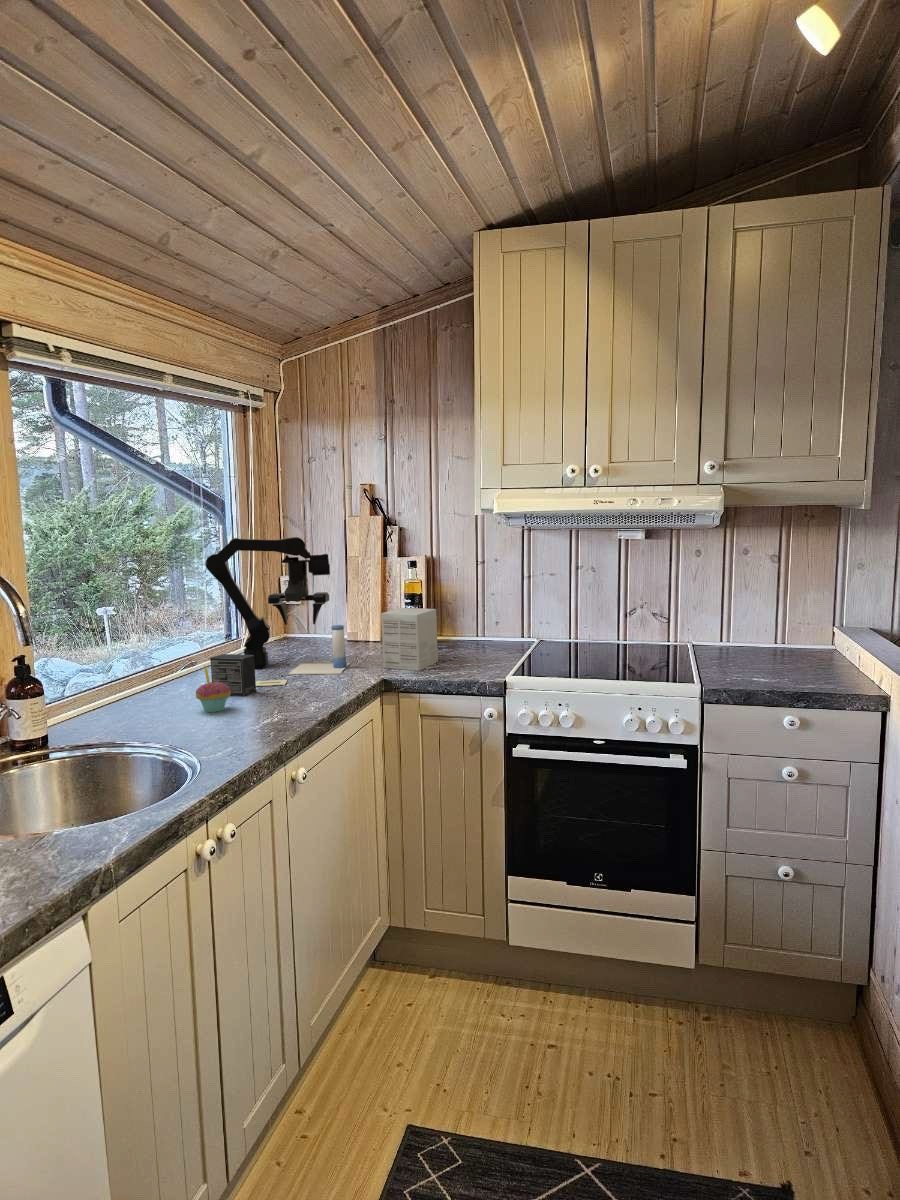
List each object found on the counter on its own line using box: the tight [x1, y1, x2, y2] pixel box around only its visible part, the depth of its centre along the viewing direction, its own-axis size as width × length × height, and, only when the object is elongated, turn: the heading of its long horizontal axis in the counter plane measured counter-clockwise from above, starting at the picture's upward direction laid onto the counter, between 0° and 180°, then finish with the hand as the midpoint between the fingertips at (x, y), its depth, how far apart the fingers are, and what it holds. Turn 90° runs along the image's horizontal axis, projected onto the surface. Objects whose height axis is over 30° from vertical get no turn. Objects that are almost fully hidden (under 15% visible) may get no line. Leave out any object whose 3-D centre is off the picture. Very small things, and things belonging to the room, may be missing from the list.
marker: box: [331, 624, 348, 668], centre depth 244 cm, size 4×4×13 cm
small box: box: [209, 653, 257, 697], centre depth 216 cm, size 11×6×10 cm, turn 71°
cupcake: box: [195, 664, 232, 713], centre depth 198 cm, size 9×8×12 cm
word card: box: [255, 679, 288, 687], centre depth 226 cm, size 9×6×1 cm, turn 96°
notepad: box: [288, 661, 352, 675], centre depth 245 cm, size 16×16×1 cm
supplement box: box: [380, 607, 439, 672], centre depth 246 cm, size 13×13×18 cm
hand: (300, 624), depth 252 cm, fingers open, 9 cm apart
